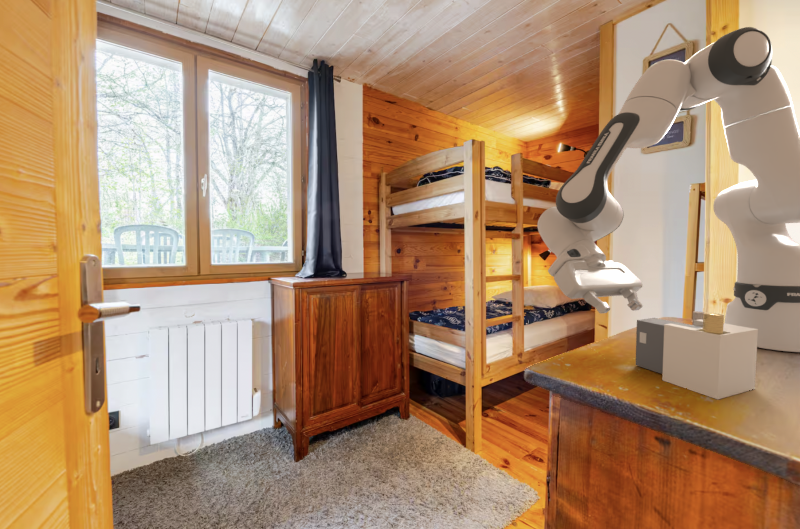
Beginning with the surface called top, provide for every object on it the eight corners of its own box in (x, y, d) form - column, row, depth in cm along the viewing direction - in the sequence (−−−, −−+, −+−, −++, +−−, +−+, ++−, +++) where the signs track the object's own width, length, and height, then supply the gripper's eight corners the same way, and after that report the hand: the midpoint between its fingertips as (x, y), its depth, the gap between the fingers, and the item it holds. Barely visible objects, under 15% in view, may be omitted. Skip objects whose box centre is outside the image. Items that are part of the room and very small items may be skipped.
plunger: (707, 348, 56) (709, 312, 56) (725, 352, 54) (727, 315, 54) (698, 350, 55) (699, 313, 55) (716, 354, 53) (718, 316, 53)
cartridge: (653, 361, 69) (654, 317, 68) (706, 377, 60) (708, 327, 60) (635, 365, 67) (636, 320, 66) (687, 382, 59) (689, 330, 58)
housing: (698, 372, 64) (700, 319, 63) (754, 388, 56) (757, 329, 55) (662, 380, 60) (664, 324, 59) (717, 399, 53) (720, 335, 52)
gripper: (606, 269, 85) (645, 315, 76) (541, 271, 78) (576, 322, 69) (624, 251, 81) (667, 298, 72) (557, 252, 74) (596, 303, 65)
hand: (622, 310), depth 71 cm, fingers open, 8 cm apart
